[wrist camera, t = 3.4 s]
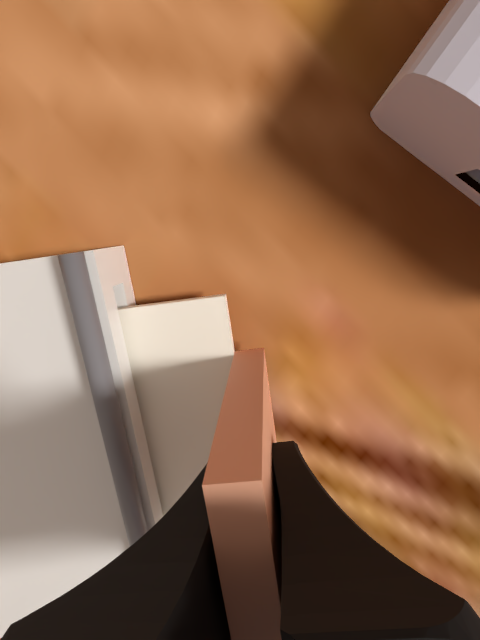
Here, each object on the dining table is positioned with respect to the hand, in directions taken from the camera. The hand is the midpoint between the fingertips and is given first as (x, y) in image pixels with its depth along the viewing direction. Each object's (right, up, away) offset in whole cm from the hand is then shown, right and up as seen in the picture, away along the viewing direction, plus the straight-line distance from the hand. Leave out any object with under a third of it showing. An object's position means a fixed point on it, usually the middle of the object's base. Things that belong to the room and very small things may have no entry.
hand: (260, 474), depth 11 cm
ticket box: (-10, 0, +4) cm, 11 cm away
